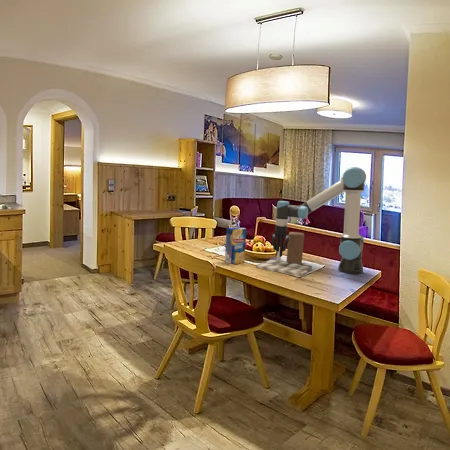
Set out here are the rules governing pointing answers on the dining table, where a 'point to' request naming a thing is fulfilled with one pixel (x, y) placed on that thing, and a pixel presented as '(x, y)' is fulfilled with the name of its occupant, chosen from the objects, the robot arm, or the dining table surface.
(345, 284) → the dining table surface
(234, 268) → the dining table surface
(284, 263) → the grey ridged flat piece
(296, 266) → the grey wavy slab
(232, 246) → the blue food box
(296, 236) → the wooden block
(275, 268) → the grey ridged flat tray
